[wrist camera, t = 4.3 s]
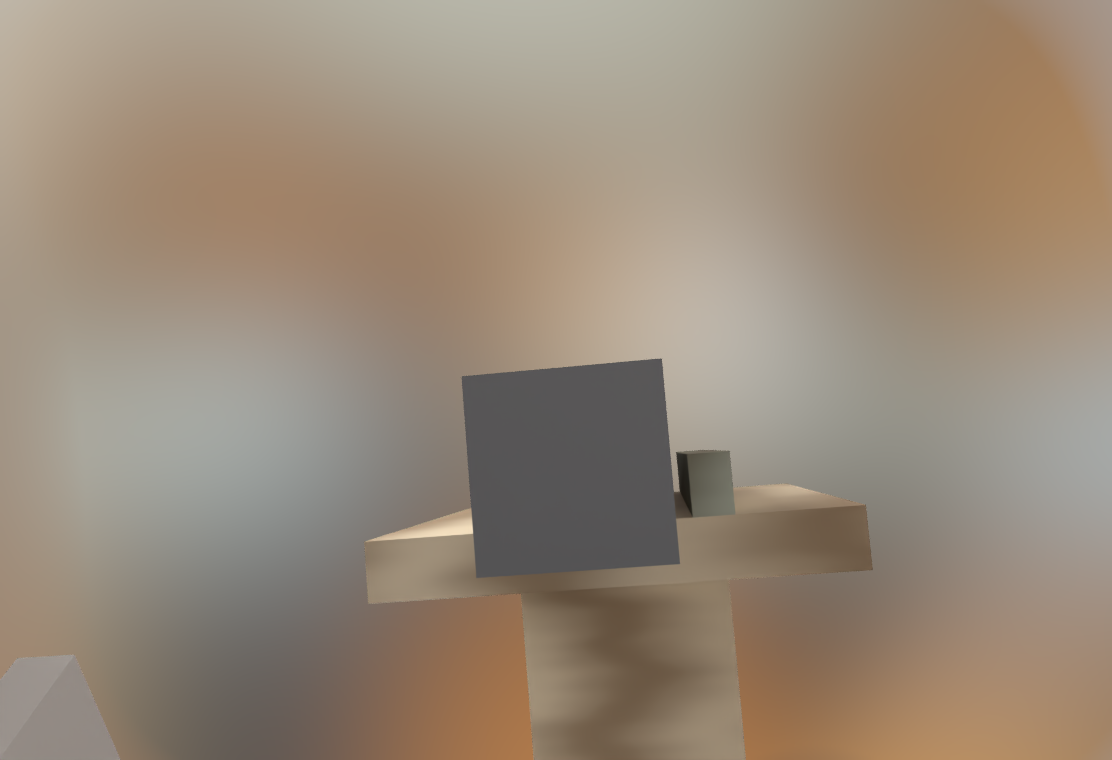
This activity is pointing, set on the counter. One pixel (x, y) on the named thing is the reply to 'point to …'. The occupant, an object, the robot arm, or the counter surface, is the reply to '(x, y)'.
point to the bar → (570, 469)
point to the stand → (640, 613)
